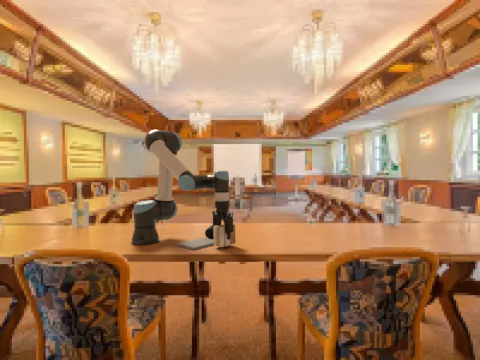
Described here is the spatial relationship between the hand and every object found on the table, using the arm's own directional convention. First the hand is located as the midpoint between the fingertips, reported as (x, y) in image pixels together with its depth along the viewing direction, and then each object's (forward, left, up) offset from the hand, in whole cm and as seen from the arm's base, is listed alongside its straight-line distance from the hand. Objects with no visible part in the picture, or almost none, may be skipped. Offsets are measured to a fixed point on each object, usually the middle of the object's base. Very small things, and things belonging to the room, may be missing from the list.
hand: (223, 244), depth 152 cm
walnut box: (0, +6, +5) cm, 8 cm away
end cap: (-22, +12, -2) cm, 25 cm away
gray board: (-15, -4, -2) cm, 16 cm away
